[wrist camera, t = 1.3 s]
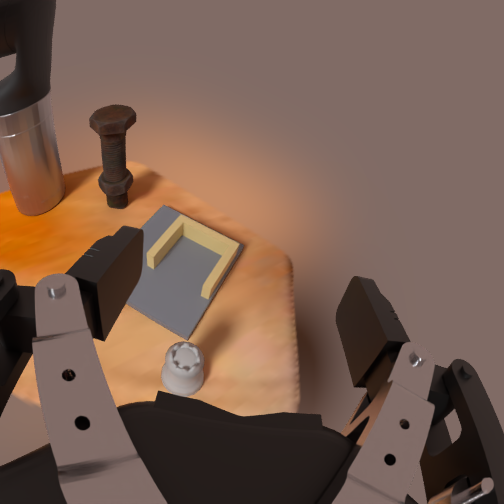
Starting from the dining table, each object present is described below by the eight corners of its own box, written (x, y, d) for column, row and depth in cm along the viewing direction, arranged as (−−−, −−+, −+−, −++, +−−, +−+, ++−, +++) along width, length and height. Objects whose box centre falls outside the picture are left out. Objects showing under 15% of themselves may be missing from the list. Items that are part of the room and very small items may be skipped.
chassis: (96, 283, 31) (90, 267, 28) (163, 209, 41) (164, 191, 38) (187, 340, 30) (189, 328, 28) (242, 249, 40) (248, 233, 37)
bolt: (113, 187, 41) (108, 101, 29) (140, 195, 41) (142, 106, 30) (94, 212, 37) (81, 121, 26) (123, 221, 38) (117, 127, 26)
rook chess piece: (197, 402, 26) (205, 390, 20) (155, 389, 26) (150, 372, 20) (208, 364, 29) (218, 340, 23) (168, 351, 29) (167, 323, 23)
